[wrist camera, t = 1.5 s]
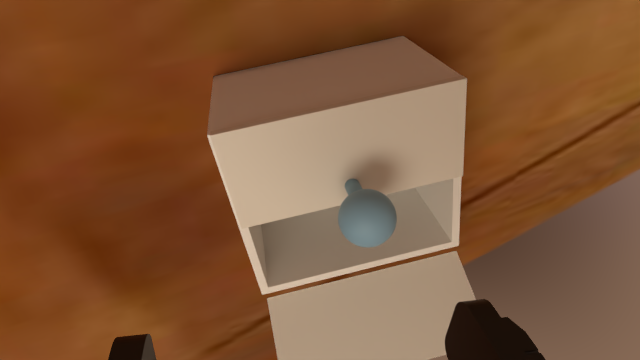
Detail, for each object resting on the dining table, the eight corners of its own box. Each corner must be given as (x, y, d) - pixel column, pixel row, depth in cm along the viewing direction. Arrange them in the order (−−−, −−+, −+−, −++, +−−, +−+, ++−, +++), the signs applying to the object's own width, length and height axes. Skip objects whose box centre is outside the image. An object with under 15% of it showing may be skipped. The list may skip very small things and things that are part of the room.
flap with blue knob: (462, 75, 25) (518, 113, 20) (458, 175, 29) (504, 227, 24) (210, 131, 24) (205, 185, 19) (242, 226, 28) (245, 291, 23)
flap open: (266, 298, 32) (277, 311, 37) (285, 402, 29) (294, 400, 34) (456, 250, 33) (440, 269, 38) (494, 346, 30) (471, 352, 35)
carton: (403, 35, 35) (465, 77, 26) (409, 174, 42) (458, 245, 33) (213, 76, 34) (207, 135, 24) (255, 211, 41) (262, 294, 32)
